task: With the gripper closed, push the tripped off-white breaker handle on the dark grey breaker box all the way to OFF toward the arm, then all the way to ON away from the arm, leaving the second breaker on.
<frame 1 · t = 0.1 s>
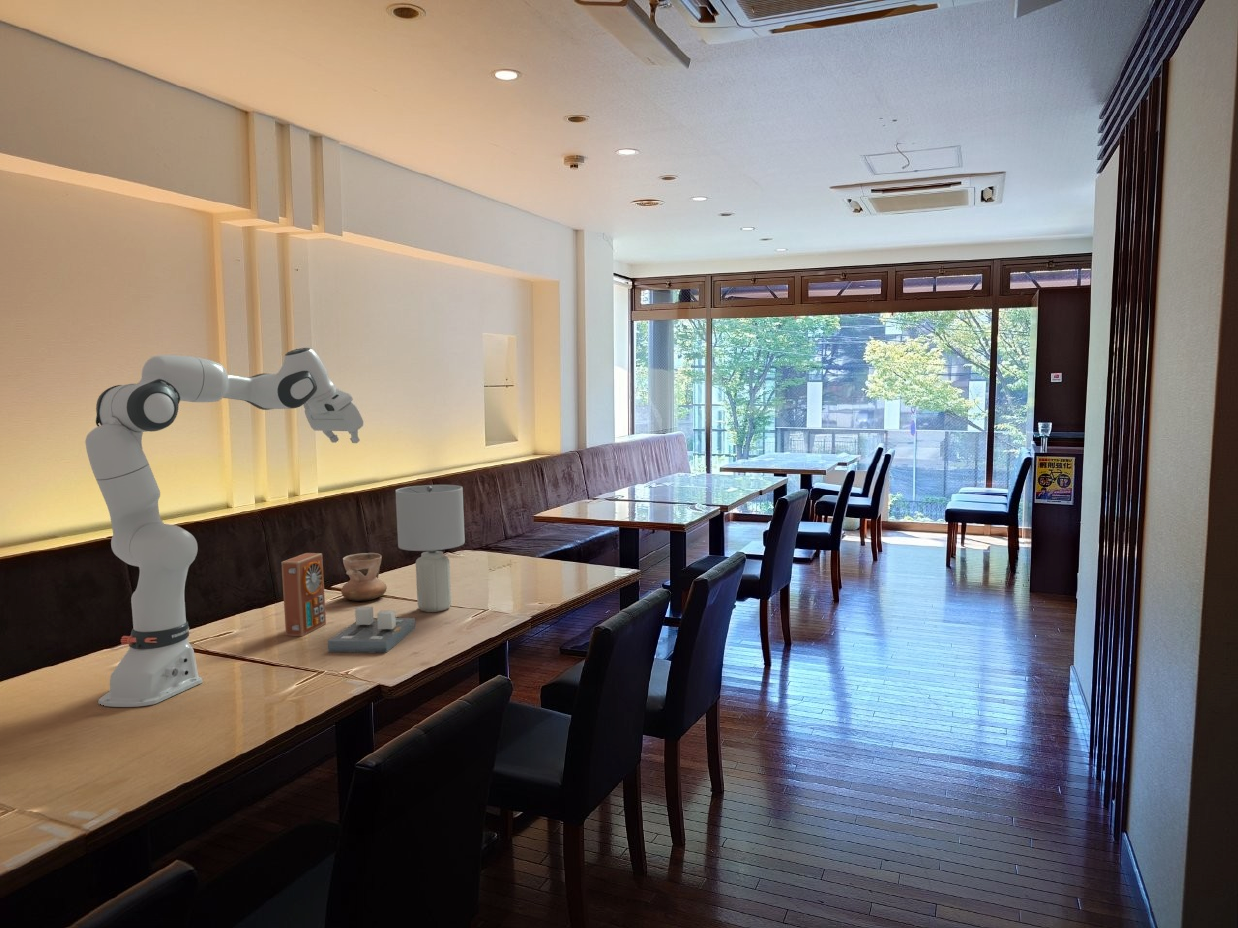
hand: (345, 441, 241), 54 cm above the table, tool tilted 30°, fingers open, 8 cm apart
lamp: (434, 609, 262), on the table
tripped breaker: (386, 619, 230), point 6 cm above the table, slide at 0.0 cm
ceramic jug: (365, 598, 278), on the table
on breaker: (364, 615, 235), point 6 cm above the table, slide at 4.0 cm
breaker box: (373, 639, 231), on the table
control panel: (306, 630, 243), on the table
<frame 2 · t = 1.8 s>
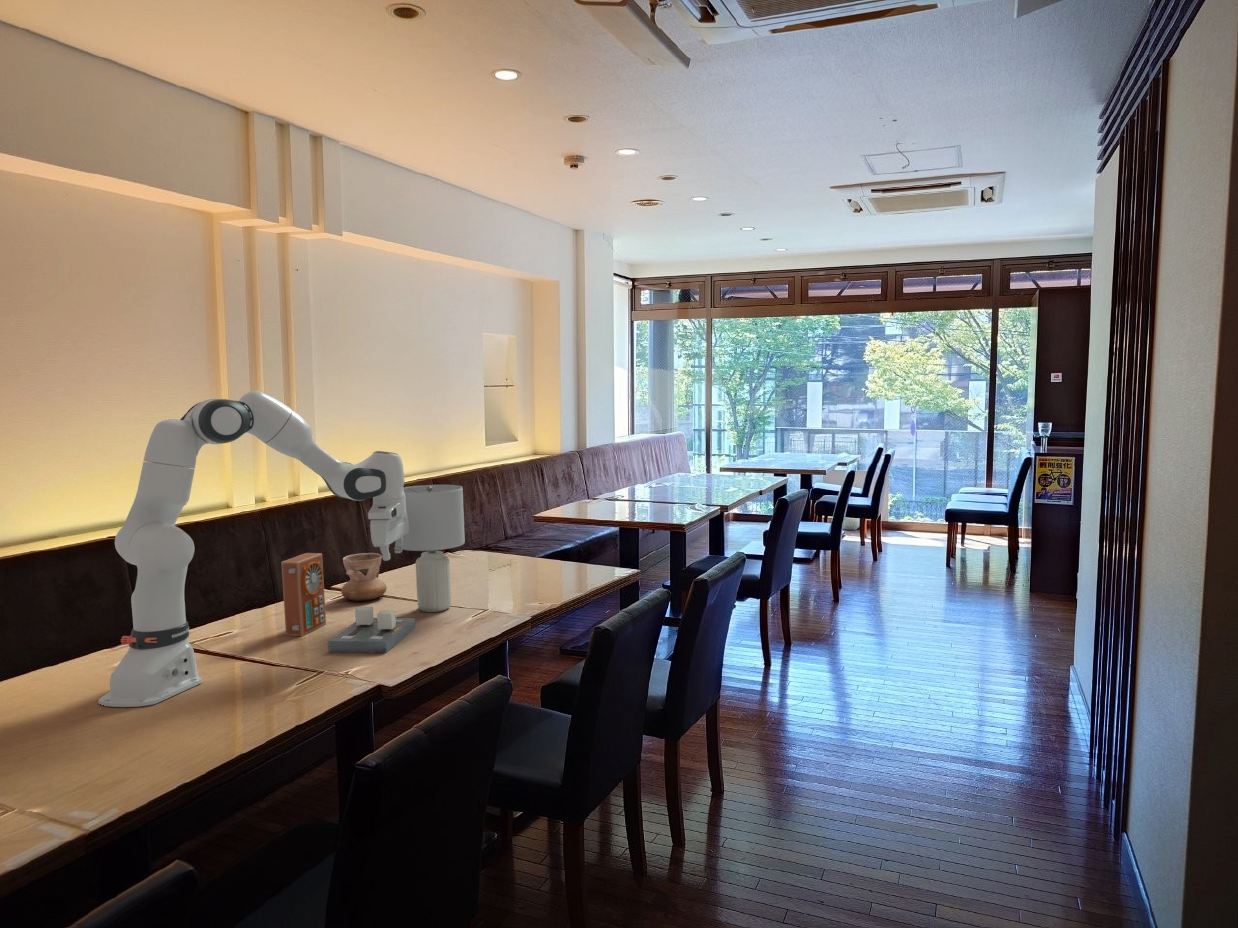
hand: (392, 556, 236), 22 cm above the table, tool pointing down, fingers open, 8 cm apart
nothing on the table moved.
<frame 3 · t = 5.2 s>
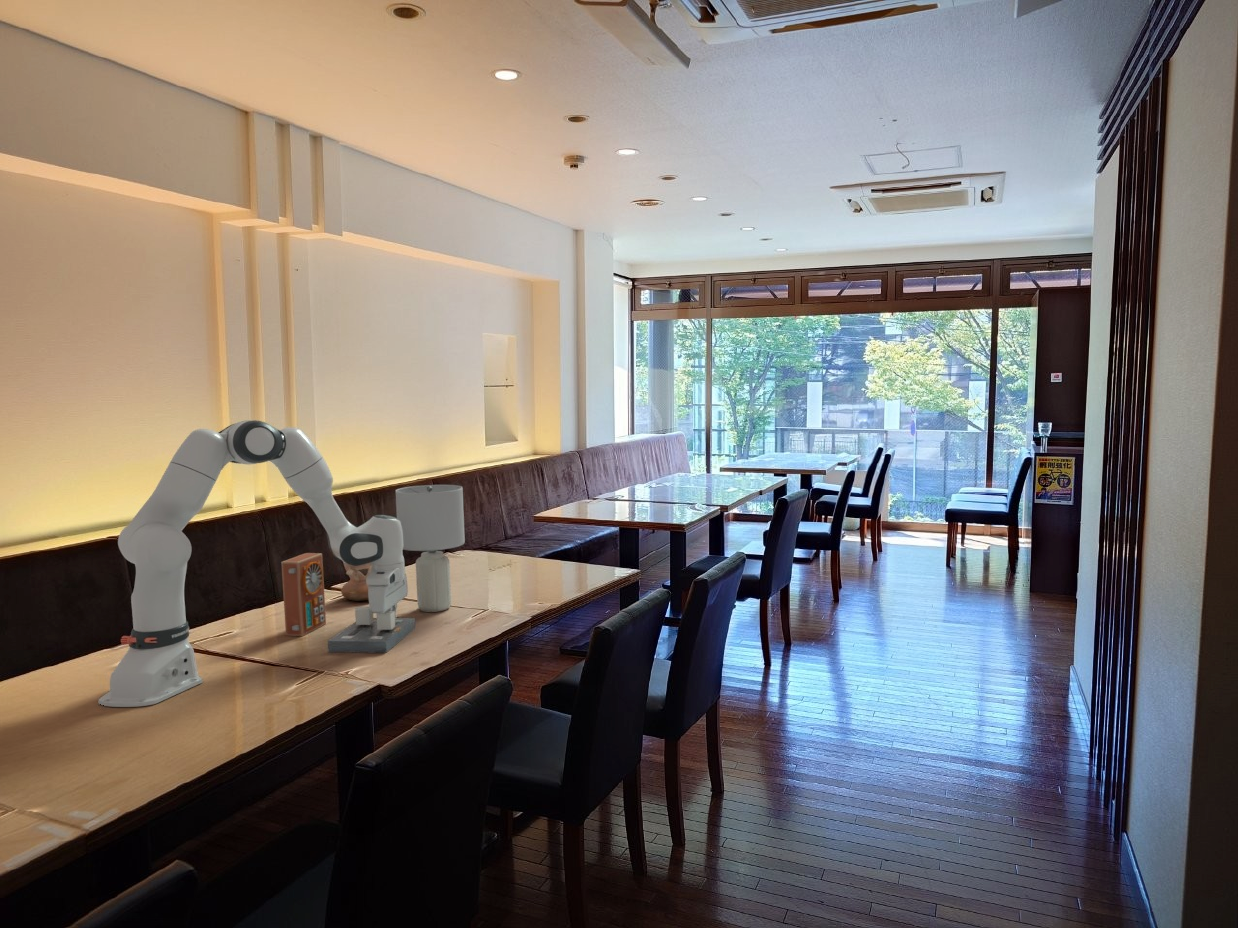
hand: (390, 620, 234), 4 cm above the table, tool pointing down, fingers closed
tripped breaker: (385, 620, 230), point 6 cm above the table, slide at -0.5 cm, touching gripper
everything else where it was.
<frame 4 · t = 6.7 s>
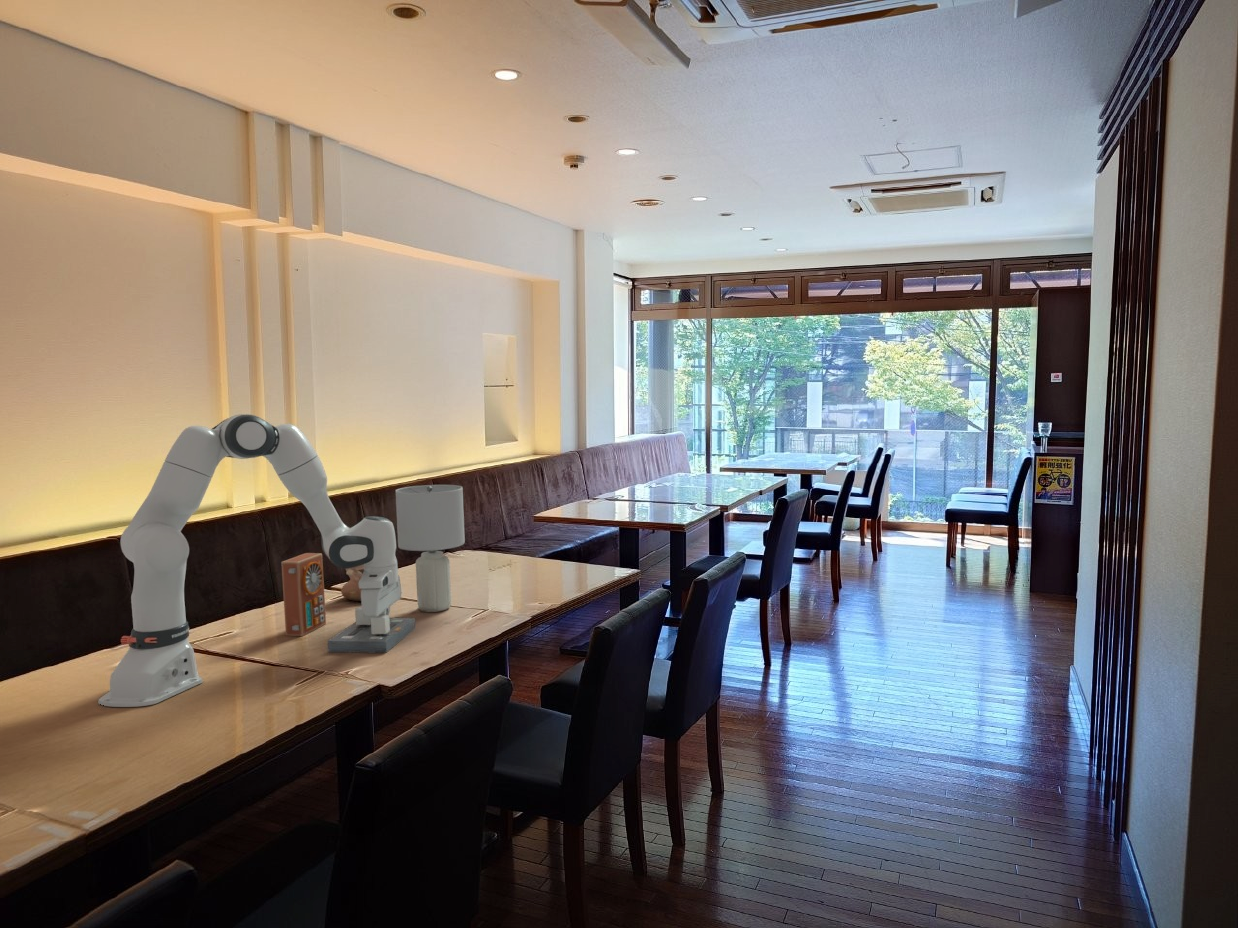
hand: (384, 623, 229), 5 cm above the table, tool pointing down, fingers closed
tripped breaker: (380, 624, 226), point 6 cm above the table, slide at -4.4 cm, touching gripper
everything else where it was.
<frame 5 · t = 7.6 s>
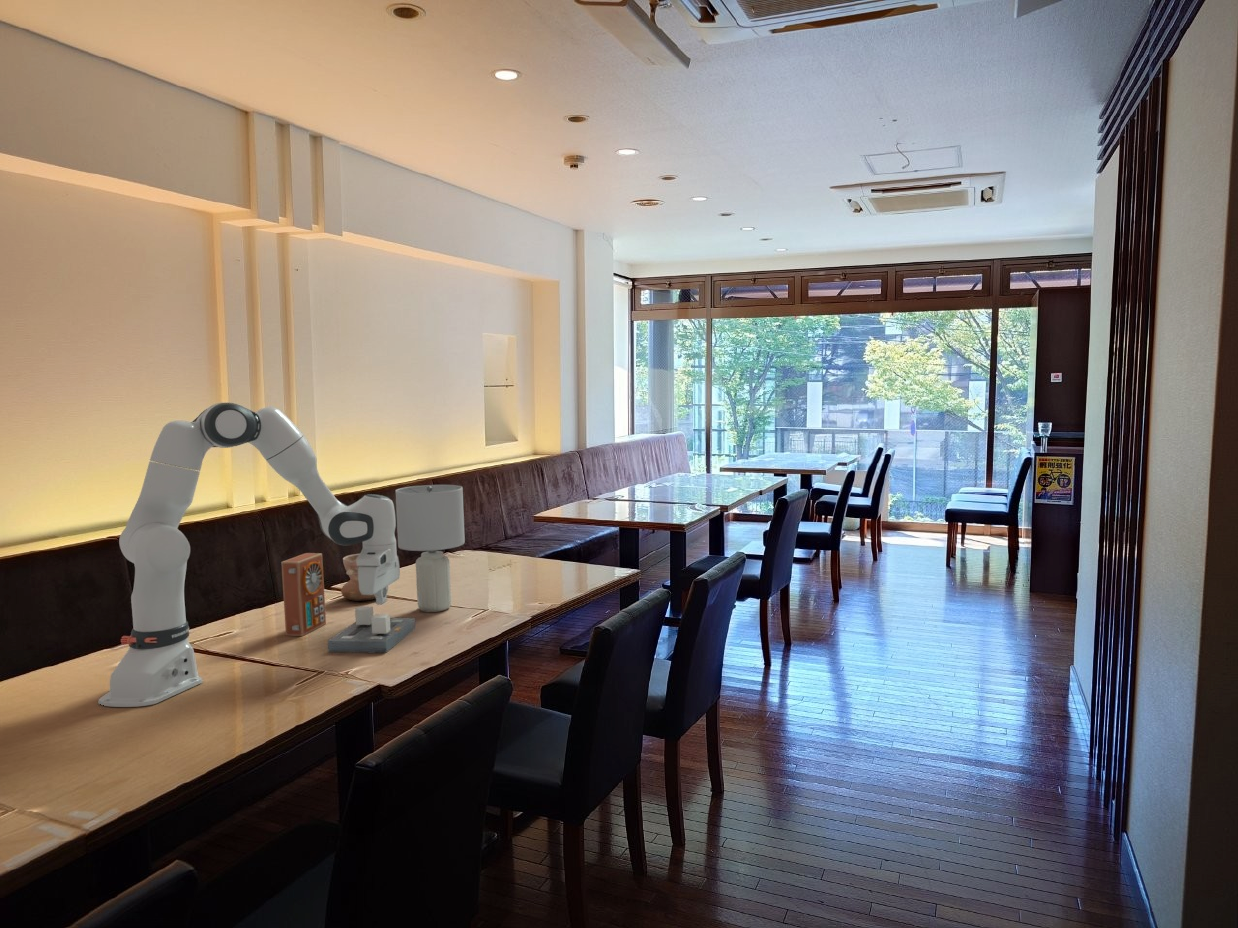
hand: (381, 603, 227), 11 cm above the table, tool pointing down, fingers closed
tripped breaker: (380, 623, 226), point 6 cm above the table, slide at -4.1 cm
everything else where it was.
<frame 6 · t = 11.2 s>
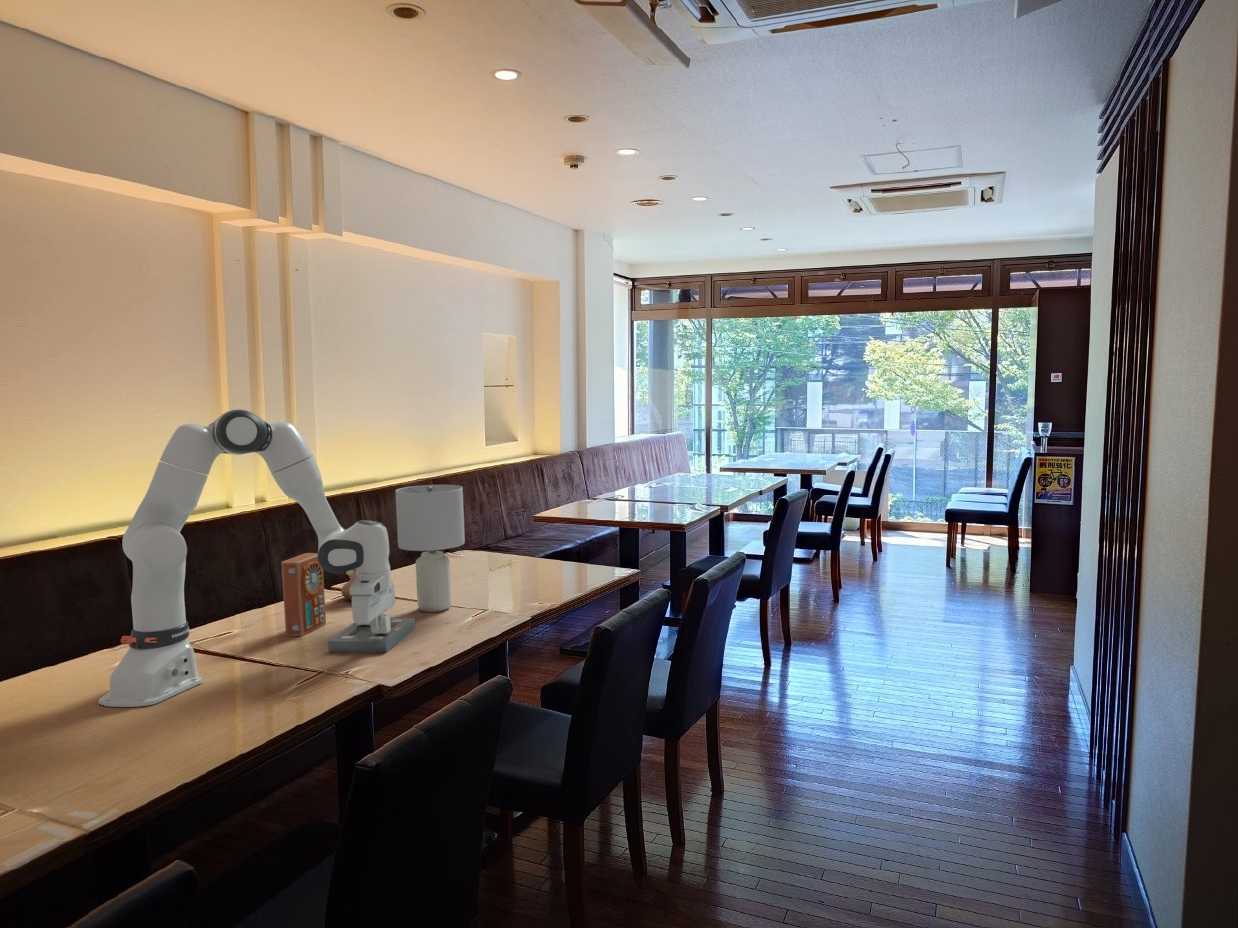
hand: (376, 631, 223), 5 cm above the table, tool pointing down, fingers closed
tripped breaker: (381, 623, 226), point 6 cm above the table, slide at -3.9 cm, touching gripper
everything else where it was.
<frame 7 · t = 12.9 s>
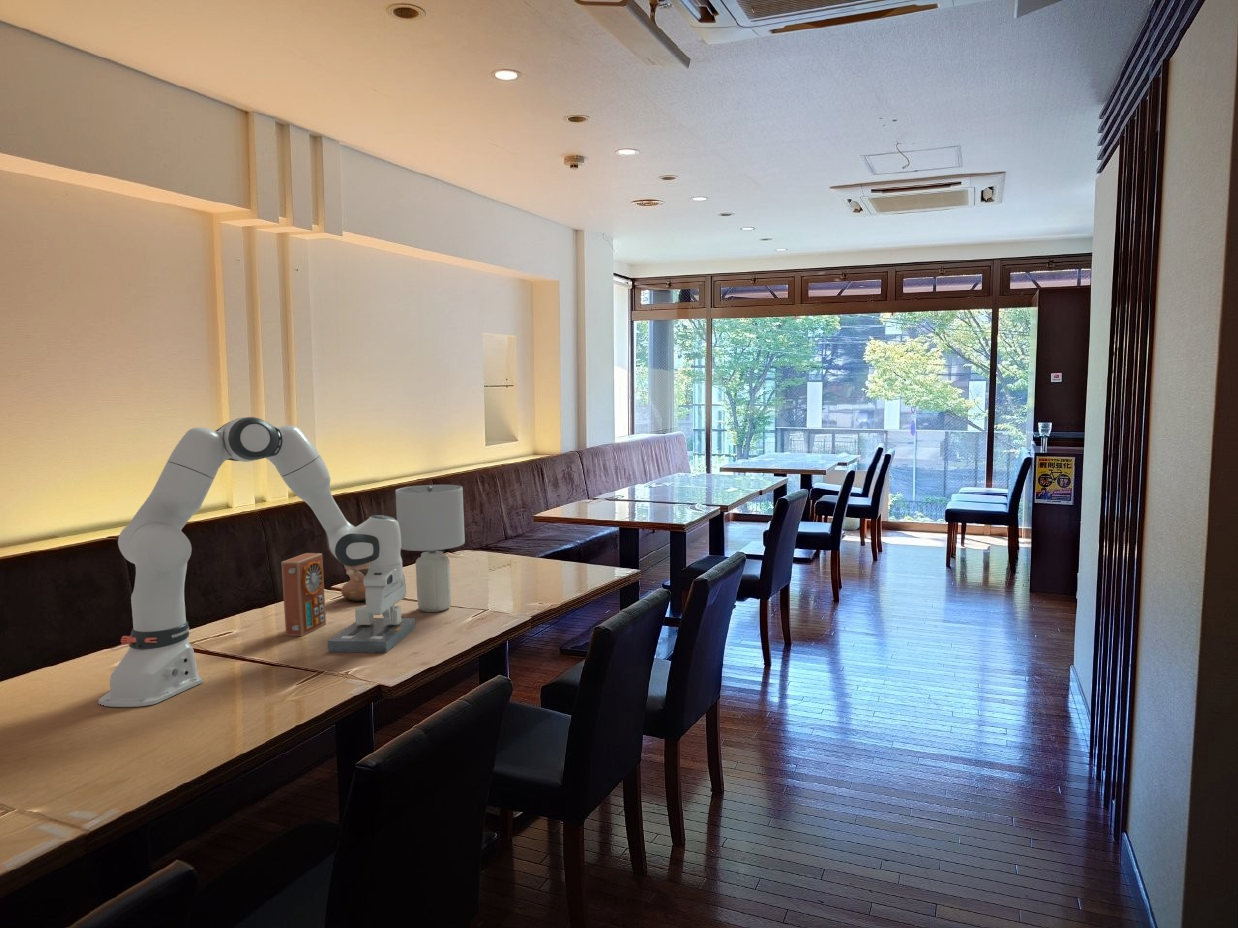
hand: (388, 622, 231), 5 cm above the table, tool pointing down, fingers closed
tripped breaker: (392, 615, 235), point 6 cm above the table, slide at 4.3 cm, touching gripper
everything else where it was.
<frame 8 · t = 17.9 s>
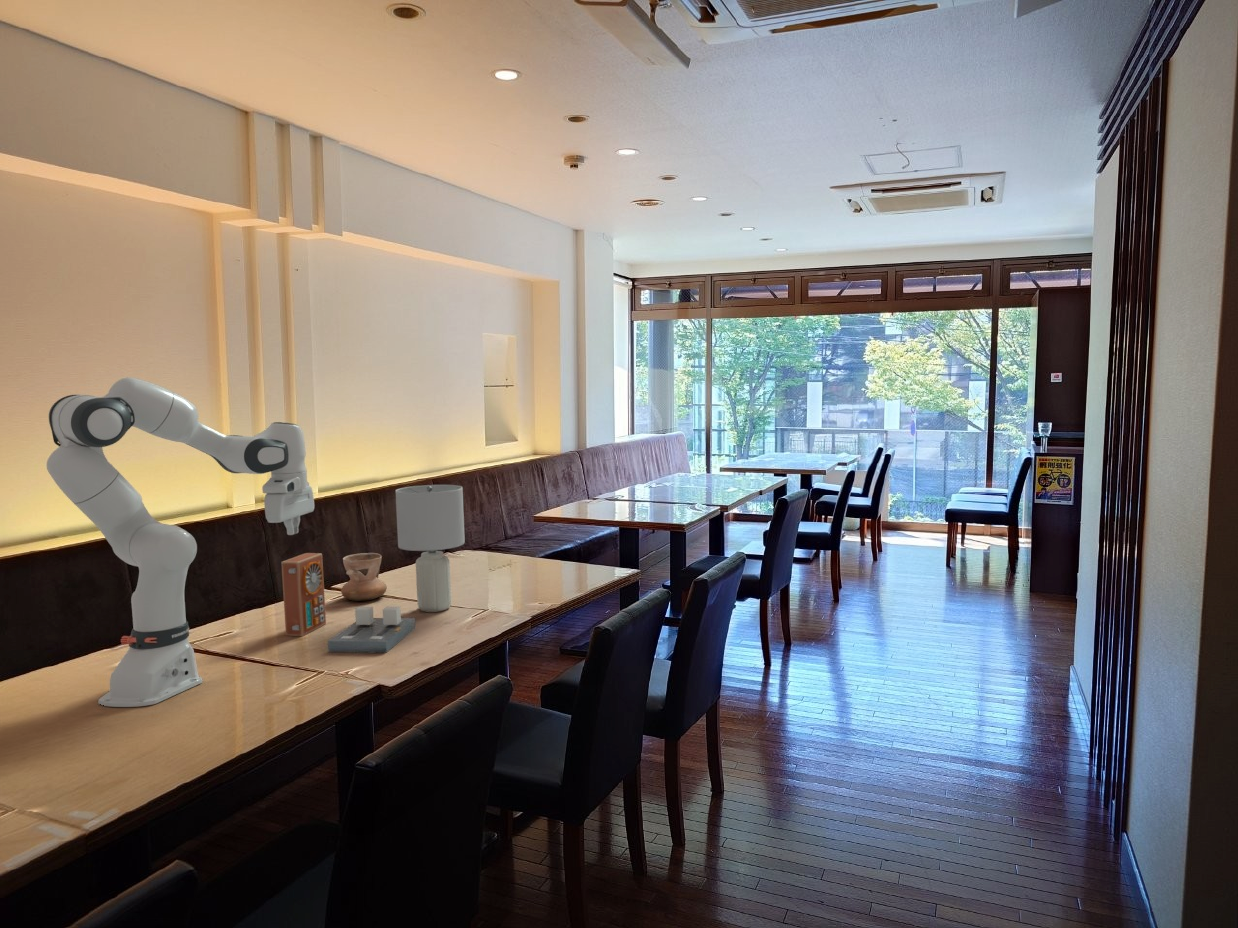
hand: (292, 534, 223), 31 cm above the table, tool pointing down, fingers closed
tripped breaker: (391, 615, 234), point 6 cm above the table, slide at 4.1 cm
everything else where it was.
at the end: tripped breaker slide at 4.1 cm; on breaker slide at 4.0 cm; control panel moved 0.2 cm from its start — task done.
